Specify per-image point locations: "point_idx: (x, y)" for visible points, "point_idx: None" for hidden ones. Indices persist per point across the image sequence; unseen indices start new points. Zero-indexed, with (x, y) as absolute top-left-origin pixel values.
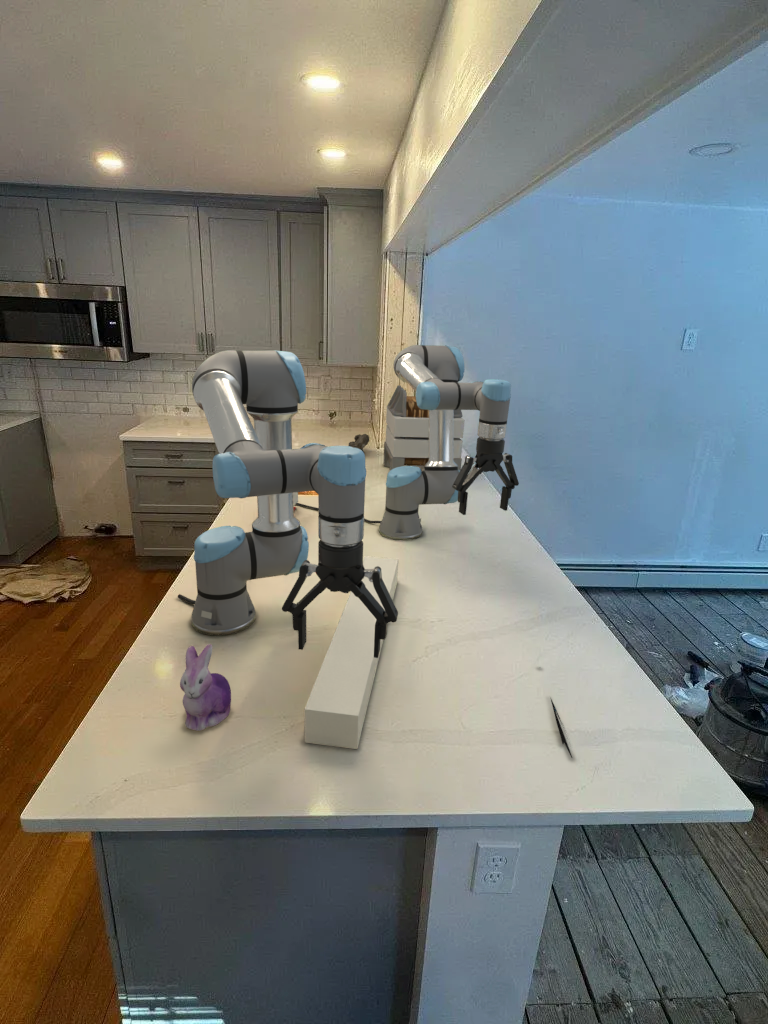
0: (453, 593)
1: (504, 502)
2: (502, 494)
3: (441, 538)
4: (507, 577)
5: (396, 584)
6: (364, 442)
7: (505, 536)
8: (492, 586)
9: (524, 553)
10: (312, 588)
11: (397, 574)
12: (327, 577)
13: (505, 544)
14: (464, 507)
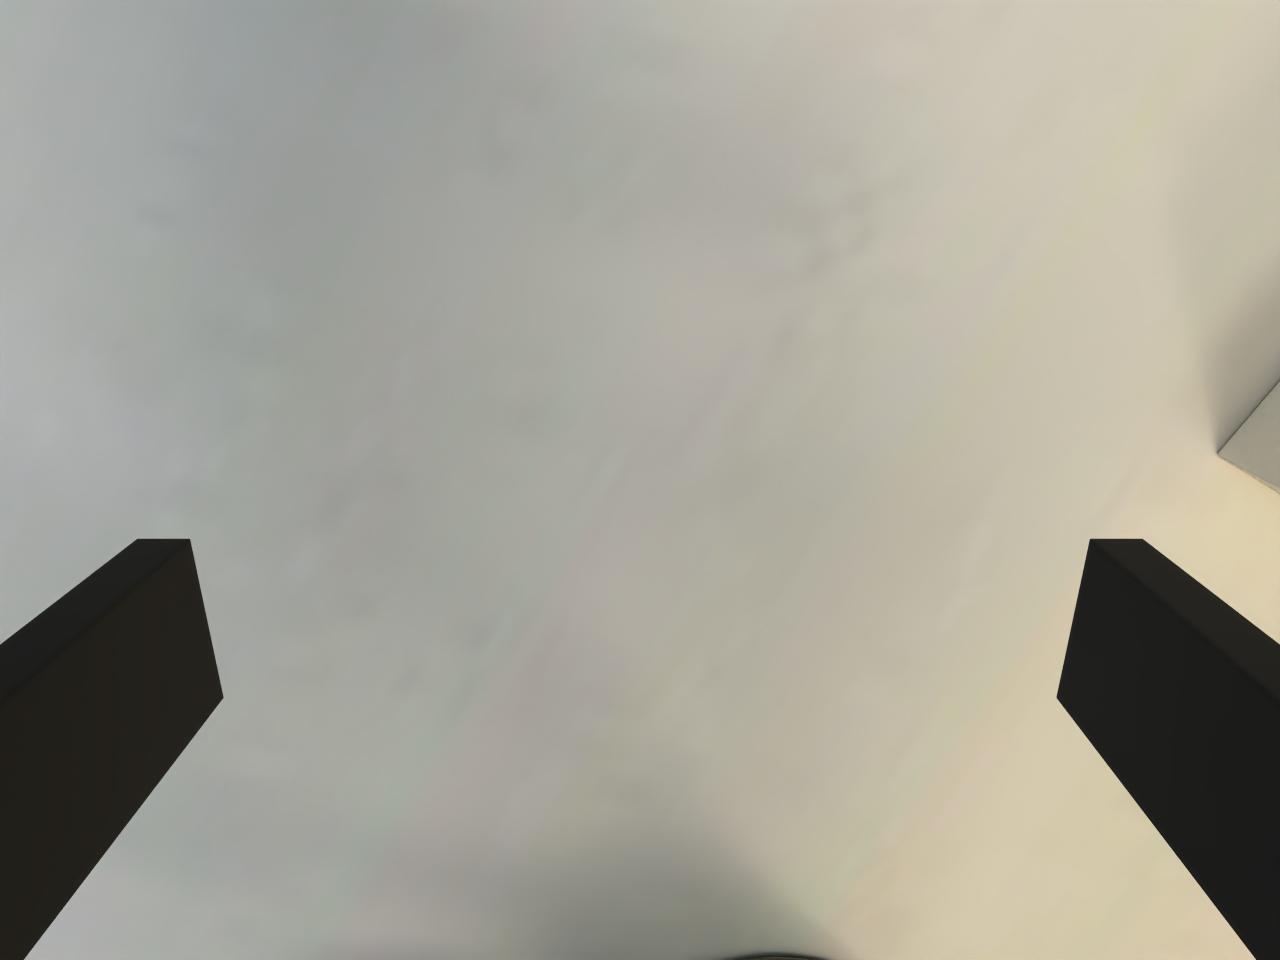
0: (942, 160)
1: (108, 671)
2: (31, 894)
3: (551, 931)
4: (378, 280)
5: (1258, 411)
6: None
7: None
8: (577, 173)
9: (52, 602)
10: None
11: (1273, 464)
12: None
13: None
14: (1240, 616)
